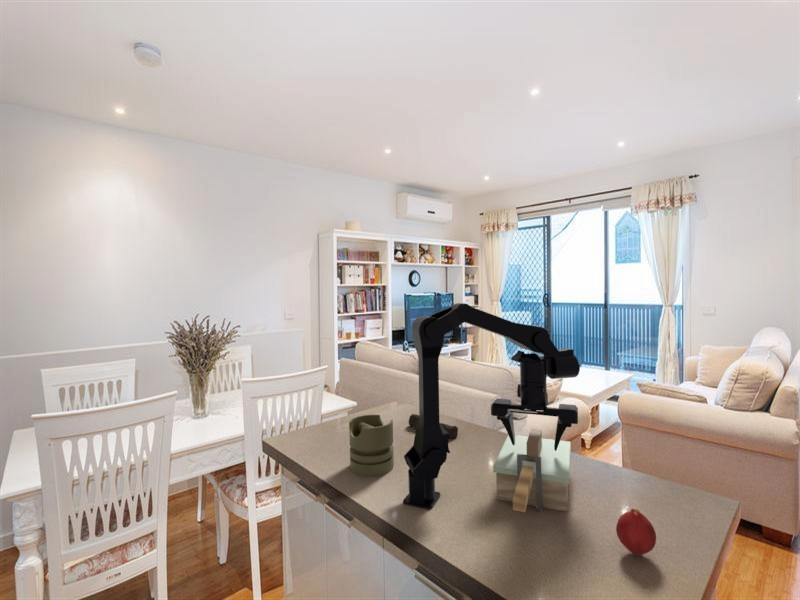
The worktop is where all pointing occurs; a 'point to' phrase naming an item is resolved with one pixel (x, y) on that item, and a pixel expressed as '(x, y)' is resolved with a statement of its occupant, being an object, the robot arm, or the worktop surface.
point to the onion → (636, 532)
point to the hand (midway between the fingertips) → (534, 447)
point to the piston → (371, 446)
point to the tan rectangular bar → (523, 489)
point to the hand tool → (450, 429)
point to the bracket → (538, 475)
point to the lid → (552, 461)
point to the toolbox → (534, 492)
